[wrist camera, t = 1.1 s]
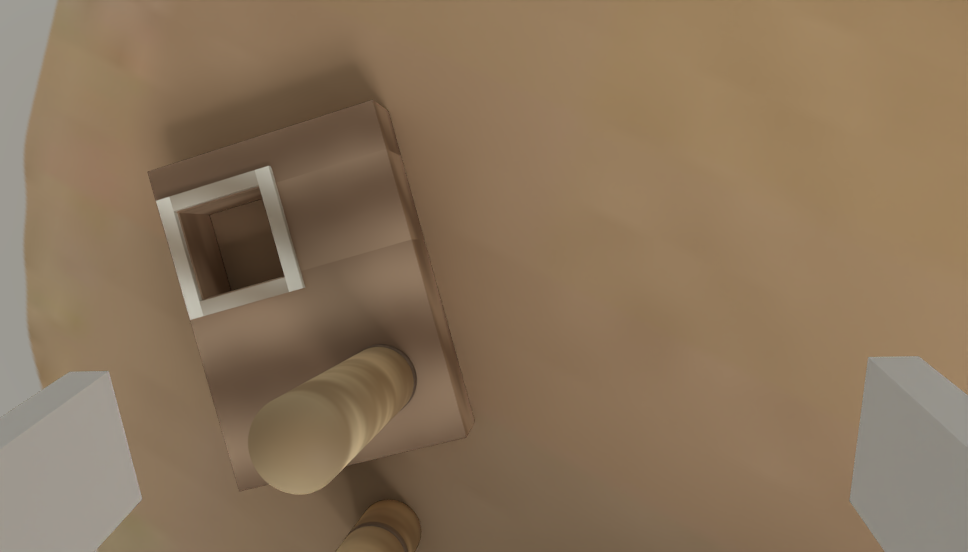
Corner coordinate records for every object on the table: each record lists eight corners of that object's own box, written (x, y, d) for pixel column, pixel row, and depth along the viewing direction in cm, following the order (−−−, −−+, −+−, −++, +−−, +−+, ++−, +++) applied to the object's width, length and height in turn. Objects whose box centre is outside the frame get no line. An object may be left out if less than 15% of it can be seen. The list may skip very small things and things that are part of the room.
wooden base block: (474, 421, 37) (418, 531, 23) (264, 471, 39) (94, 602, 25) (388, 110, 37) (277, 33, 23) (179, 176, 38) (-41, 142, 24)
